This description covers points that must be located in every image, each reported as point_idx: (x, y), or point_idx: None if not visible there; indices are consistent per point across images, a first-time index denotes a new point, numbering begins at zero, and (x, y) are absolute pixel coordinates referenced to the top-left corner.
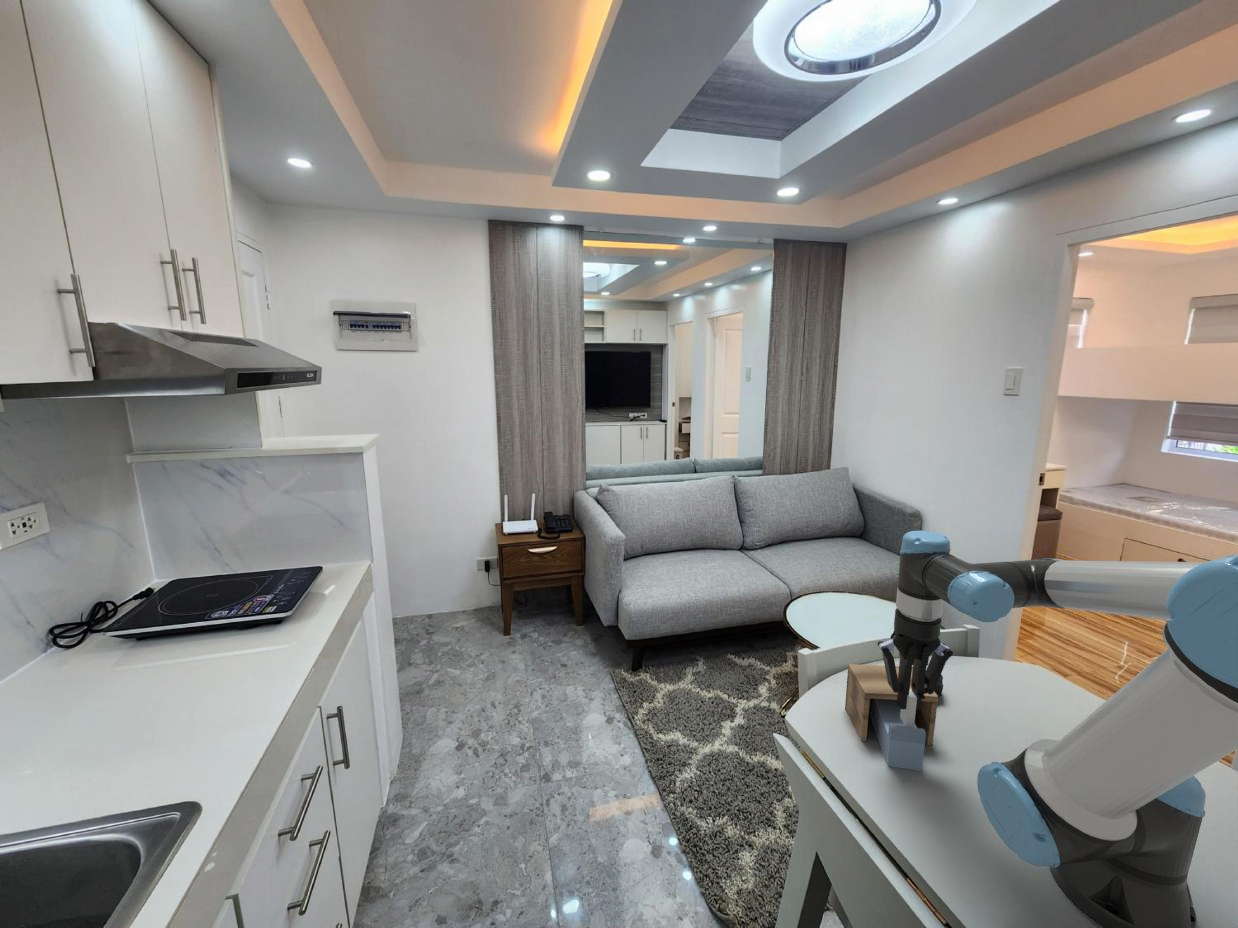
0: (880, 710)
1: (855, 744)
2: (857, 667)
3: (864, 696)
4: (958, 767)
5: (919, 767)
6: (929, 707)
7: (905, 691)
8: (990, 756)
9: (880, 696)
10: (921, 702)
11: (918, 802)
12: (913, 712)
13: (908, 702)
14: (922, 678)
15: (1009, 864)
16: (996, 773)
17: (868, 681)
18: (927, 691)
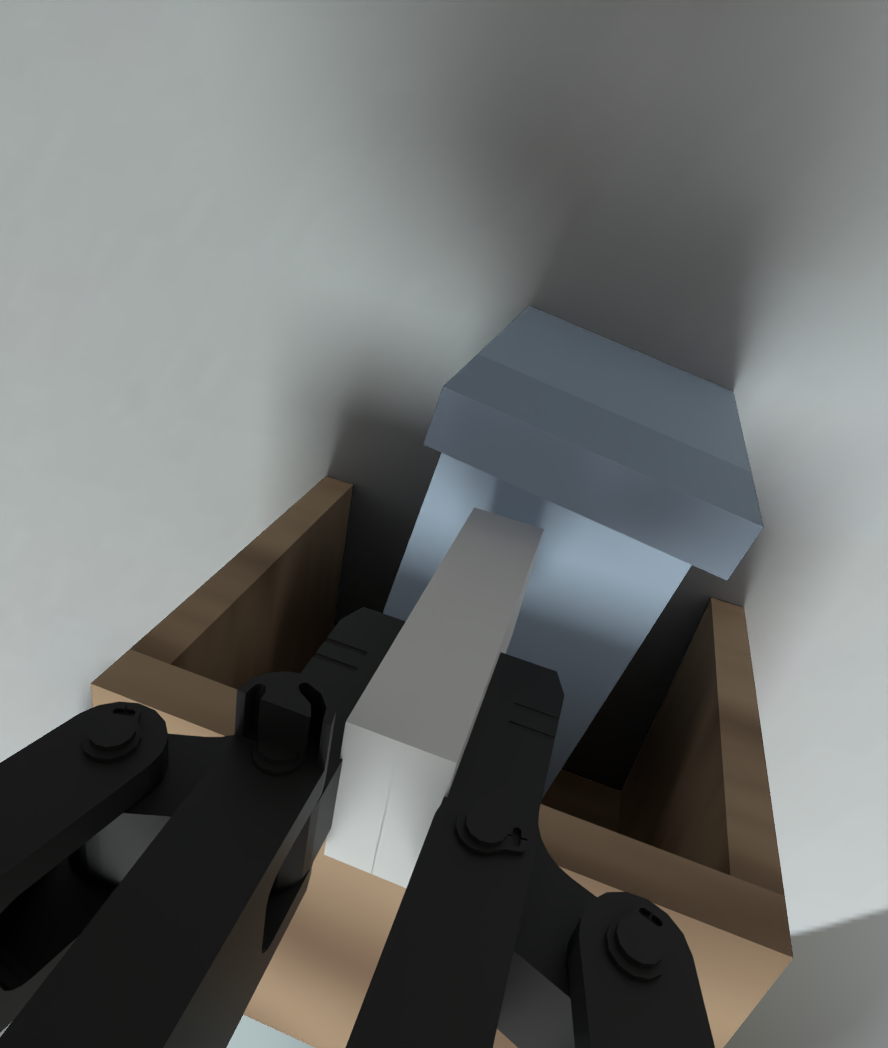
0: (566, 738)
1: (811, 591)
2: None
3: (784, 911)
4: (284, 293)
5: (538, 317)
6: (219, 639)
7: (486, 865)
8: (74, 338)
9: (621, 858)
10: None
11: (787, 7)
12: (447, 594)
13: (480, 700)
14: (63, 1046)
15: None
16: None
17: None
18: (153, 752)
